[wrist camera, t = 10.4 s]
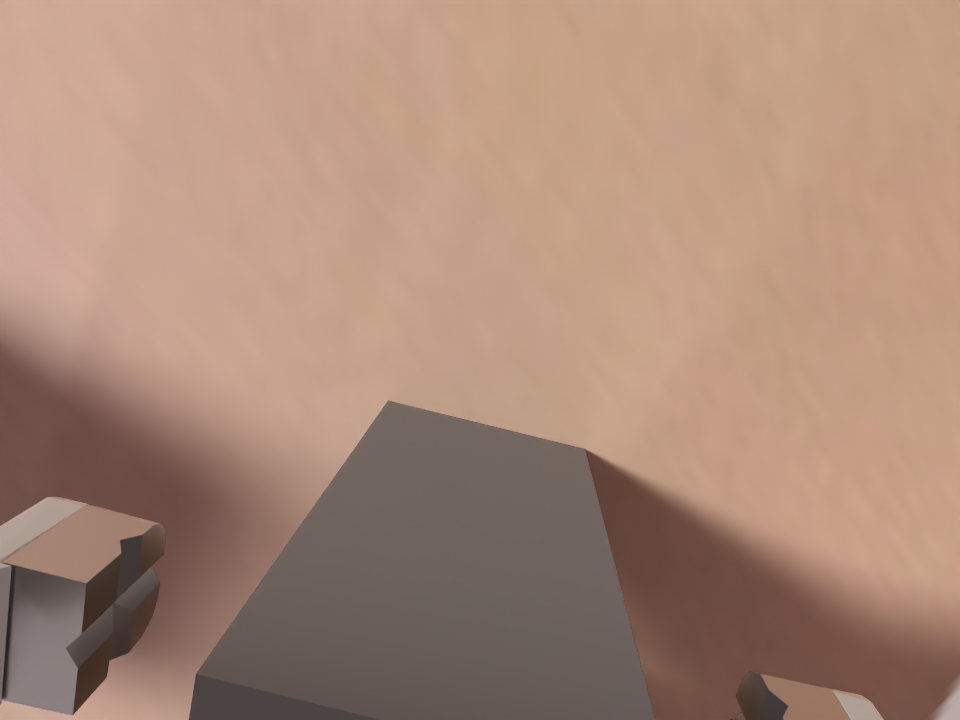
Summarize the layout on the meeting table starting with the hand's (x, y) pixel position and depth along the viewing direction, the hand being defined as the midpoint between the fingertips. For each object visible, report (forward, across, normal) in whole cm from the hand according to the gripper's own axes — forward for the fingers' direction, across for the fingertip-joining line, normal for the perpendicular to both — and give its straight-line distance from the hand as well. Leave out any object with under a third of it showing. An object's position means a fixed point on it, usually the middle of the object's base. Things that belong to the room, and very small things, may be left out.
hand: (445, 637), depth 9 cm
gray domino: (+8, 0, 0) cm, 8 cm away
